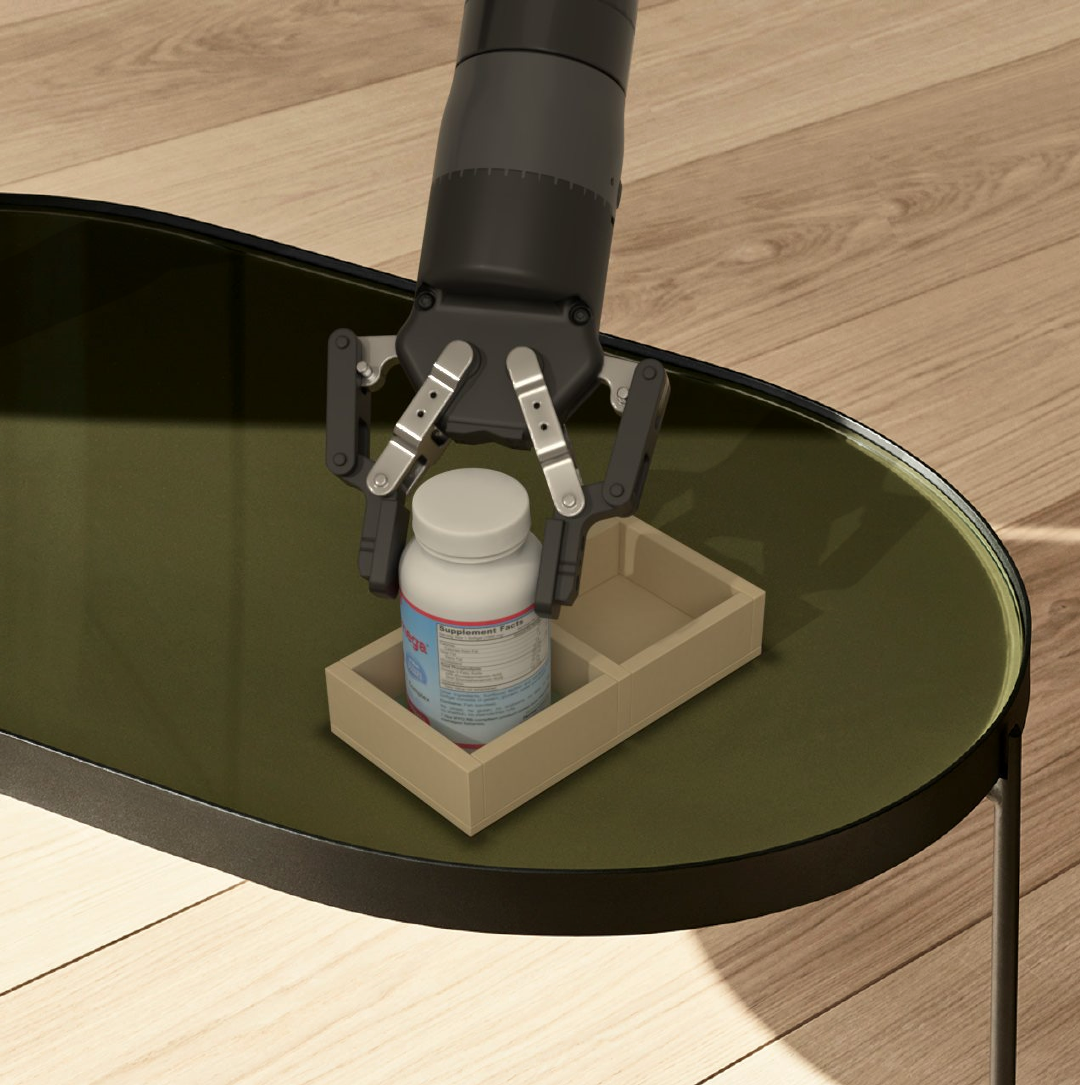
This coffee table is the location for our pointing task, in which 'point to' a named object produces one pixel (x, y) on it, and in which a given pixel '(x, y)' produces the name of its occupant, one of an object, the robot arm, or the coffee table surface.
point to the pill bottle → (473, 608)
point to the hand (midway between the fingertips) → (464, 604)
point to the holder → (565, 676)
